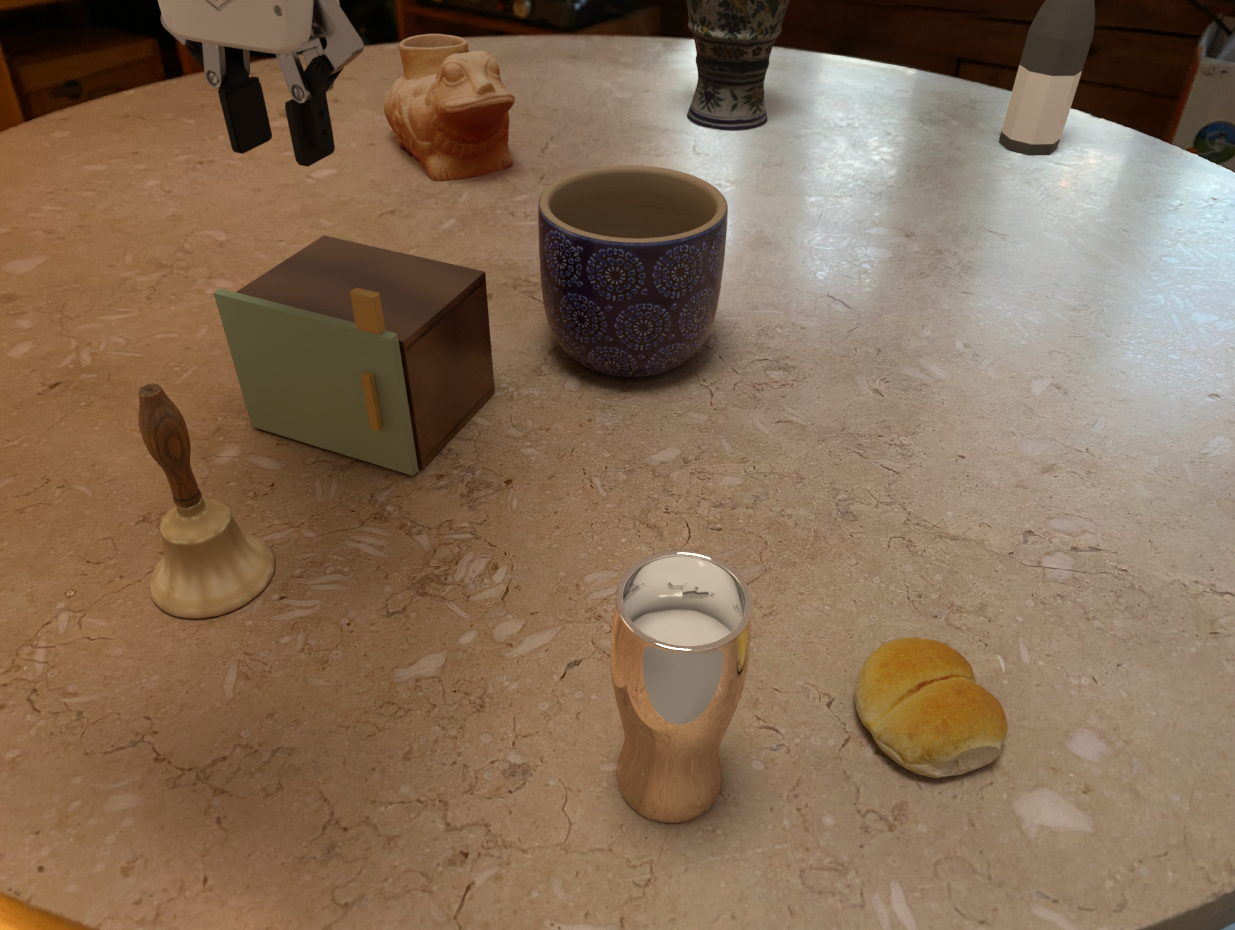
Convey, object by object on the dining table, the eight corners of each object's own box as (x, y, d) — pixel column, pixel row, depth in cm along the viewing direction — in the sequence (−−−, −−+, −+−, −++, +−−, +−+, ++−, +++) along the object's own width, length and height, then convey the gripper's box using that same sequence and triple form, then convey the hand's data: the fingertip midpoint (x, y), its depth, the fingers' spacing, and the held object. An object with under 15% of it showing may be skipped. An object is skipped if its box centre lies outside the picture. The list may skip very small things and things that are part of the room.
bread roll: (938, 647, 62) (953, 606, 59) (1021, 761, 55) (1042, 720, 53) (825, 675, 60) (836, 633, 57) (897, 796, 53) (912, 755, 51)
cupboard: (422, 470, 75) (403, 341, 68) (262, 421, 80) (227, 296, 73) (495, 392, 84) (485, 271, 77) (346, 353, 89) (323, 235, 81)
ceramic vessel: (442, 198, 117) (429, 73, 107) (373, 132, 134) (356, 20, 125) (542, 178, 122) (537, 57, 113) (463, 117, 140) (453, 8, 130)
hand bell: (293, 539, 69) (241, 354, 59) (247, 624, 63) (181, 434, 53) (184, 530, 70) (115, 346, 59) (128, 614, 63) (40, 423, 53)
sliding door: (409, 480, 74) (380, 304, 64) (246, 430, 79) (196, 259, 69) (418, 470, 75) (392, 295, 65) (257, 421, 80) (209, 251, 70)
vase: (672, 96, 149) (683, -126, 130) (781, 101, 148) (808, -122, 129) (666, 132, 136) (677, -108, 117) (785, 138, 135) (816, -103, 116)
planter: (692, 411, 82) (705, 255, 73) (517, 377, 86) (507, 225, 77) (730, 320, 95) (745, 177, 85) (575, 294, 98) (573, 154, 89)
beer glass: (603, 729, 57) (604, 550, 47) (716, 720, 57) (740, 541, 48) (615, 837, 51) (619, 660, 42) (740, 825, 52) (772, 648, 42)
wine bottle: (998, 151, 132) (1066, -94, 113) (997, 132, 138) (1062, -103, 119) (1059, 159, 130) (1138, -89, 111) (1055, 139, 136) (1130, -99, 118)
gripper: (35, -192, 49) (141, 151, 61) (297, -175, 44) (359, 196, 56) (143, -202, 55) (222, 116, 66) (388, -187, 50) (427, 154, 61)
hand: (284, 149), depth 61 cm, fingers open, 4 cm apart
